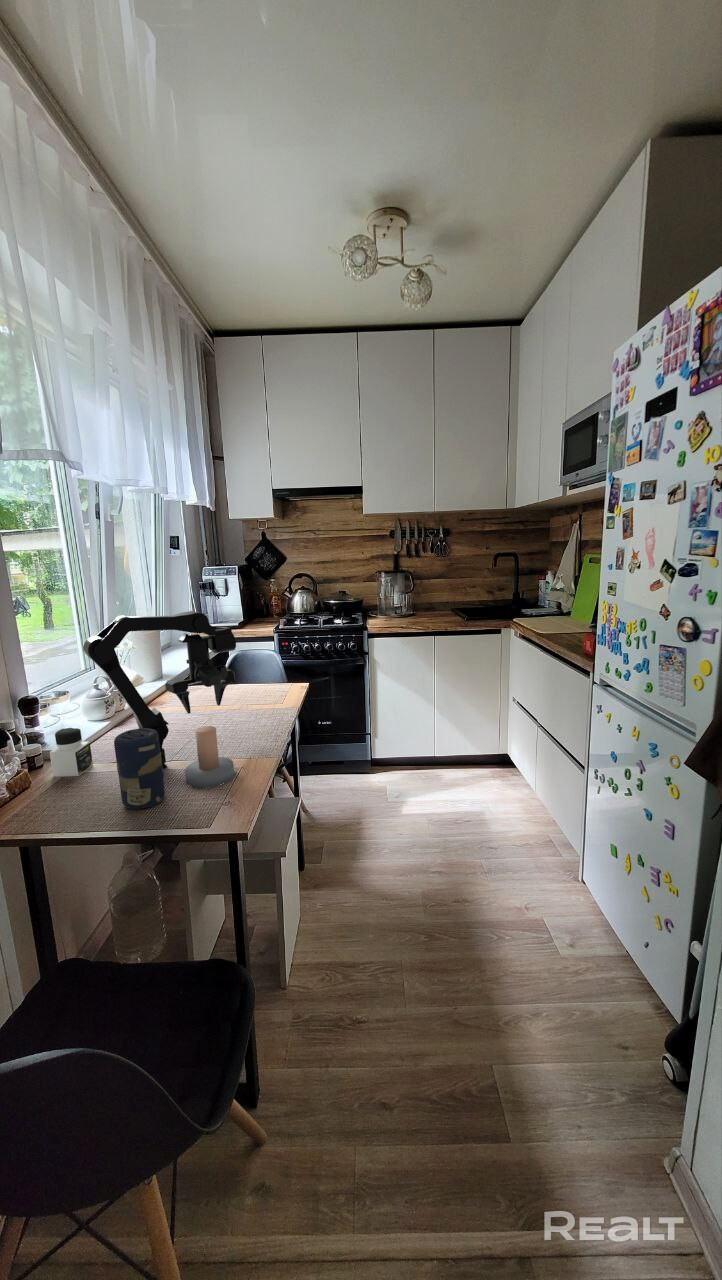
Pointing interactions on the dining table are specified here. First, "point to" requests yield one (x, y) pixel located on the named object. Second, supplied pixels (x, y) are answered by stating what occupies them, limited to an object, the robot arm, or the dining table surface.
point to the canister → (139, 768)
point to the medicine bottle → (70, 753)
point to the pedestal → (209, 774)
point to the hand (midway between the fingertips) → (204, 709)
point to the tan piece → (207, 748)
